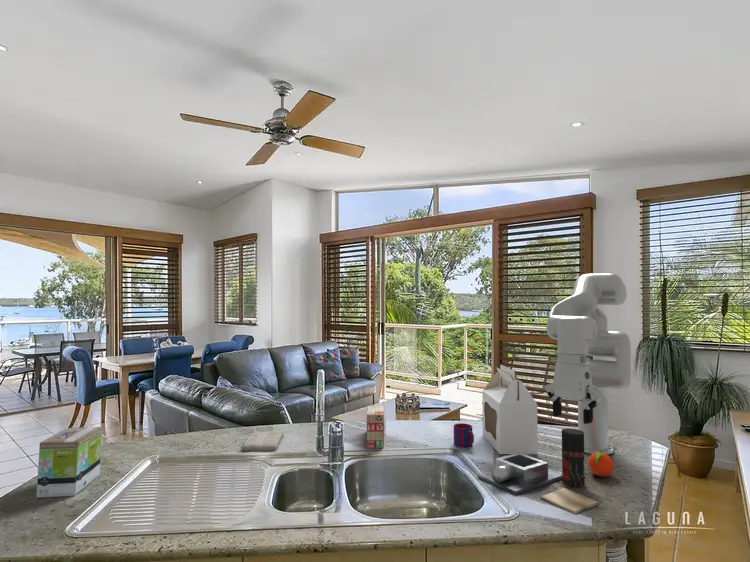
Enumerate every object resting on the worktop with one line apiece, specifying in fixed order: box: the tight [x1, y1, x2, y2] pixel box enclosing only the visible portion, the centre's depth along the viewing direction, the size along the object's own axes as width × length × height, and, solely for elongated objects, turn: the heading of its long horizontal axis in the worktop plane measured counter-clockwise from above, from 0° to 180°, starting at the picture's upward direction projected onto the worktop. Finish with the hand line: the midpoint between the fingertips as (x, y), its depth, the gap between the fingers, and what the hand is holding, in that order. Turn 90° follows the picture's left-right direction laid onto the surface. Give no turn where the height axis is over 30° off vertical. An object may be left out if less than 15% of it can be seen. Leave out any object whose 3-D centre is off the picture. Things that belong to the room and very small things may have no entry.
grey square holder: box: [477, 452, 562, 496], centre depth 133 cm, size 22×14×5 cm, turn 123°
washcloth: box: [243, 430, 285, 452], centre depth 165 cm, size 12×18×3 cm, turn 4°
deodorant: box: [561, 427, 586, 489], centre depth 129 cm, size 6×6×15 cm
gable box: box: [481, 364, 539, 455], centre depth 165 cm, size 22×13×28 cm, turn 2°
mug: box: [453, 422, 475, 449], centre depth 162 cm, size 7×10×7 cm
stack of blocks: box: [366, 405, 385, 449], centre depth 170 cm, size 21×6×12 cm, turn 0°
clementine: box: [587, 452, 615, 478], centre depth 135 cm, size 8×7×7 cm
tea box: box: [36, 426, 103, 498], centre depth 127 cm, size 15×10×15 cm, turn 9°
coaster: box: [540, 487, 599, 515], centre depth 118 cm, size 10×10×1 cm
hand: (572, 419), depth 129 cm, fingers open, 9 cm apart
